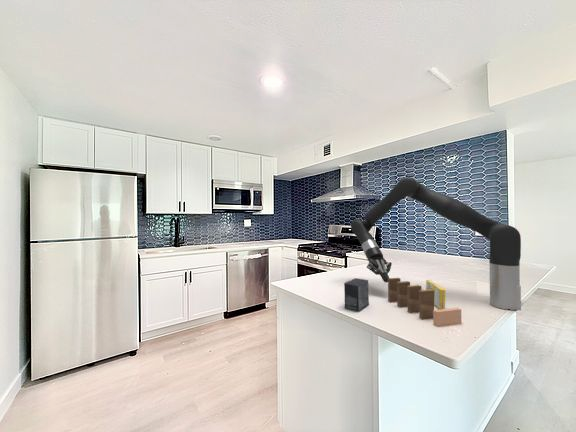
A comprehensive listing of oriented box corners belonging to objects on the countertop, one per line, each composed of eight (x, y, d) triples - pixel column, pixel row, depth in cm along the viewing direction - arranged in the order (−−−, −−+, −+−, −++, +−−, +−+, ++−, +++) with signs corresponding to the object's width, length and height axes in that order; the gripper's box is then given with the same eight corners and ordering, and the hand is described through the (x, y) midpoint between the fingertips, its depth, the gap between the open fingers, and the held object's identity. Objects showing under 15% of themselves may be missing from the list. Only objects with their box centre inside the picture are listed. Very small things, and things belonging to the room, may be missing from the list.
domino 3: (407, 311, 95) (407, 285, 95) (418, 310, 96) (418, 284, 96) (410, 313, 93) (410, 286, 93) (421, 311, 94) (421, 286, 94)
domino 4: (419, 317, 89) (419, 290, 89) (430, 316, 90) (430, 289, 90) (422, 319, 87) (422, 291, 87) (434, 318, 88) (434, 290, 89)
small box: (354, 301, 107) (354, 277, 107) (369, 304, 102) (369, 279, 103) (343, 308, 98) (343, 282, 98) (359, 312, 94) (358, 285, 94)
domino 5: (433, 310, 83) (457, 307, 86) (433, 325, 83) (457, 322, 85) (437, 312, 82) (461, 309, 84) (437, 327, 82) (461, 323, 84)
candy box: (445, 311, 95) (445, 289, 95) (439, 310, 96) (439, 289, 96) (430, 297, 111) (430, 279, 111) (425, 297, 112) (425, 279, 112)
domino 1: (388, 301, 106) (387, 278, 107) (398, 300, 108) (397, 277, 108) (390, 302, 105) (390, 279, 105) (400, 301, 106) (400, 278, 106)
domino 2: (397, 306, 101) (397, 281, 101) (407, 305, 102) (407, 281, 102) (399, 307, 99) (399, 282, 99) (410, 306, 100) (410, 282, 100)
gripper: (362, 246, 119) (377, 277, 107) (386, 245, 122) (404, 276, 110) (357, 255, 124) (371, 286, 112) (380, 254, 127) (396, 284, 115)
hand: (387, 281), depth 111 cm, fingers closed
